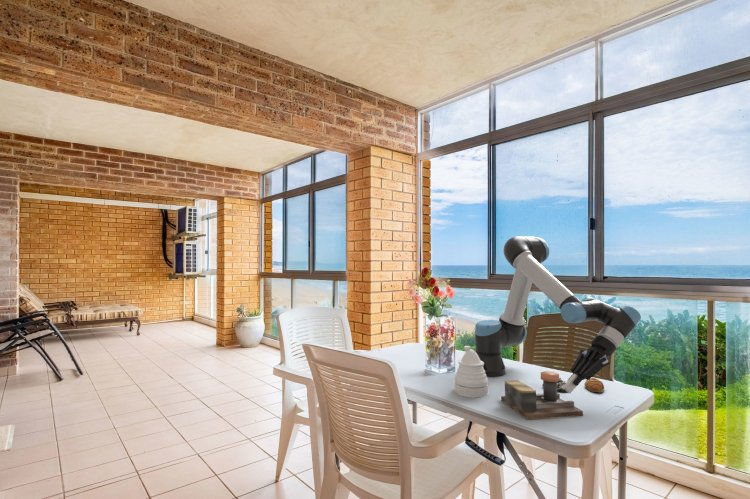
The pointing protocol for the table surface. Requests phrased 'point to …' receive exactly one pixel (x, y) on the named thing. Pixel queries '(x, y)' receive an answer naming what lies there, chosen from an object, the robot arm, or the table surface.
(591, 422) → the table surface
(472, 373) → the honey pot
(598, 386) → the pastry
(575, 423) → the table surface
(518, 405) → the brown sliding knob board
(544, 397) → the knob
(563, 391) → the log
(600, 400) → the table surface
